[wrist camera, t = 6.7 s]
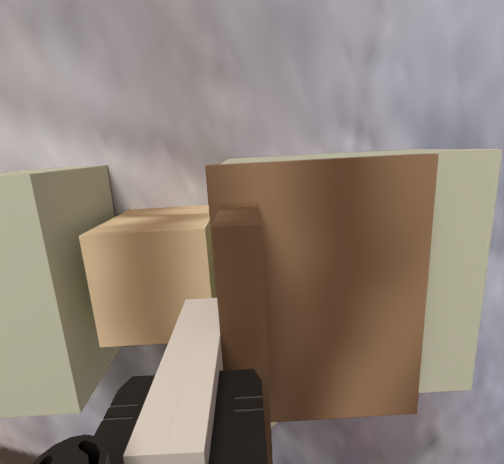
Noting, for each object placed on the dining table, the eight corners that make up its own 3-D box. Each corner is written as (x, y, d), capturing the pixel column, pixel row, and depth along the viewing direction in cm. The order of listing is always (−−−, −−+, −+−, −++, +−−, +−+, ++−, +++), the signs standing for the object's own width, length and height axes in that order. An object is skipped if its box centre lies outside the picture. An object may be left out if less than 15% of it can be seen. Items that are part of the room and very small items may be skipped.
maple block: (141, 291, 24) (99, 347, 17) (129, 209, 22) (78, 235, 16) (223, 286, 24) (215, 340, 17) (217, 204, 22) (205, 228, 16)
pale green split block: (78, 332, 24) (1, 417, 17) (45, 168, 22) (-67, 179, 14) (399, 314, 25) (471, 389, 17) (410, 149, 22) (502, 149, 14)
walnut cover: (228, 408, 17) (221, 516, 12) (208, 165, 14) (187, 173, 9) (406, 398, 17) (473, 500, 12) (424, 153, 14) (523, 155, 9)
